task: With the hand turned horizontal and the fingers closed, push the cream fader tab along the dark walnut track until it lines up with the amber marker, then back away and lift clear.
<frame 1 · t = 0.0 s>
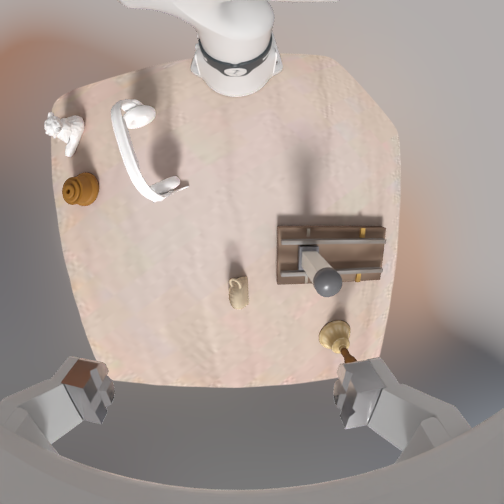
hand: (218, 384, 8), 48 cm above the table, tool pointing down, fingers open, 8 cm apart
headset: (159, 152, 51), on the table
ornamental finial: (87, 188, 52), on the table
decorative ornament: (239, 288, 59), on the table
fader track: (331, 253, 58), on the table
white sculpted figure: (74, 132, 48), on the table
hand bell: (334, 334, 63), on the table
fader tab: (317, 268, 48), point 10 cm above the table, slide at -6.0 cm
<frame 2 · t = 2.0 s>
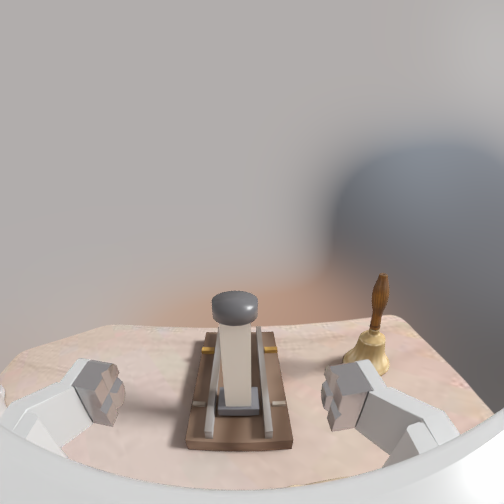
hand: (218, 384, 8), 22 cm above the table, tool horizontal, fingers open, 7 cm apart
fader track: (239, 385, 36), on the table
hand bell: (366, 363, 40), on the table
fader tab: (236, 360, 28), point 10 cm above the table, slide at -6.0 cm
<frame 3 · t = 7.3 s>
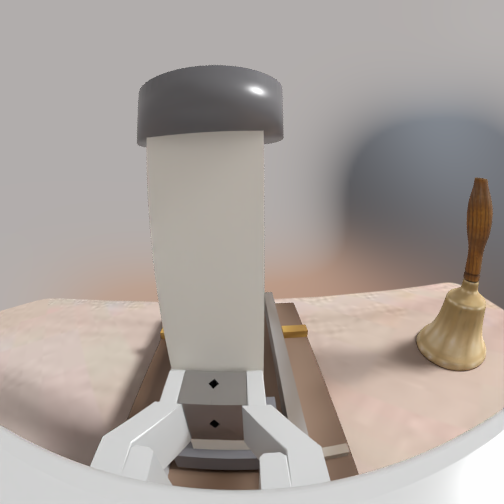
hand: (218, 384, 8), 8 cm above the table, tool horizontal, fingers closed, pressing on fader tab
fader track: (233, 406, 16), on the table
hand bell: (451, 347, 20), on the table
fader tab: (217, 316, 9), point 10 cm above the table, slide at -4.6 cm, touching gripper
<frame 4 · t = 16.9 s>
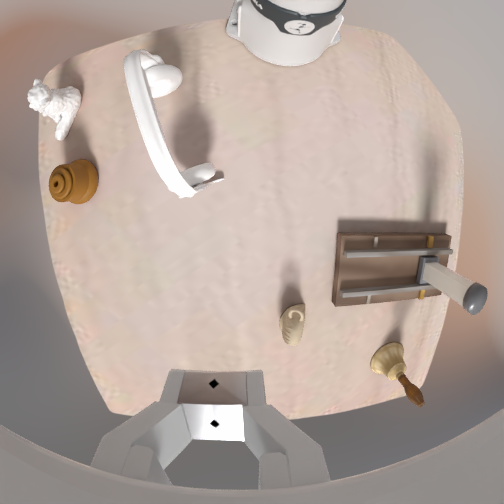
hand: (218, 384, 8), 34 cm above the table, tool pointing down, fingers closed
headset: (183, 131, 37), on the table
ornamental finial: (83, 181, 38), on the table
decorative ornament: (292, 317, 46), on the table
fader track: (395, 265, 44), on the table
white sculpted figure: (68, 109, 35), on the table
hand bell: (386, 357, 50), on the table
fader tab: (450, 282, 35), point 10 cm above the table, slide at 5.9 cm
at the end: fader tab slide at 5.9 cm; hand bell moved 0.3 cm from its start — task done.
